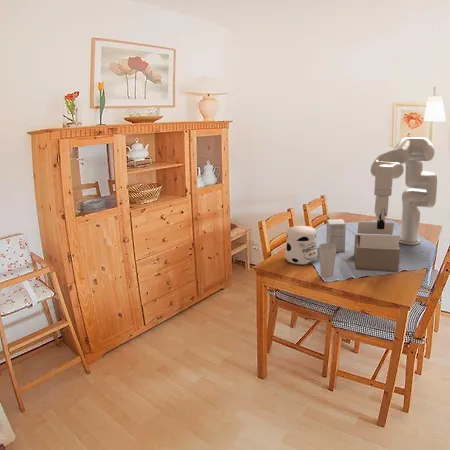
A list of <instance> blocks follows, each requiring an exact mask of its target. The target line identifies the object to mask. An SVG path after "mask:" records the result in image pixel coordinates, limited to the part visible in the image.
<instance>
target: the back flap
mask: <svg viewBox="0 0 450 450" xmlns="http://www.w3.org/2000/svg"><path fill="white" fill-rule="evenodd" d="M394 226H395V222H393V221H391V222H389V221H387V222H386V221H385V225H384V229H377V221H358V224H357V234H356V235H361V234H366V235H393V232H394Z"/></svg>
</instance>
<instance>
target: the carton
mask: <svg viewBox="0 0 450 450" xmlns="http://www.w3.org/2000/svg"><path fill="white" fill-rule="evenodd" d="M360 237H361V234H354V246H353V247H354V248H353V250H354V251H353V259H354V267H355V270H357V271H373V272H374V271H376V272H387V273H389V272H390V273H391V272H392V273H398V272H399V268H400V267H399V265H400V258H401V257H400V253H401V249H400V246H399V245H398V249H391V248H368V247H360Z"/></svg>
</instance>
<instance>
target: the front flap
mask: <svg viewBox="0 0 450 450" xmlns="http://www.w3.org/2000/svg"><path fill="white" fill-rule="evenodd" d="M360 235H361V237H360V247H368V248H391V249H398V246H399V243H400V242H399V240H400V235H394V234H392V235H384V234H360Z"/></svg>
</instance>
